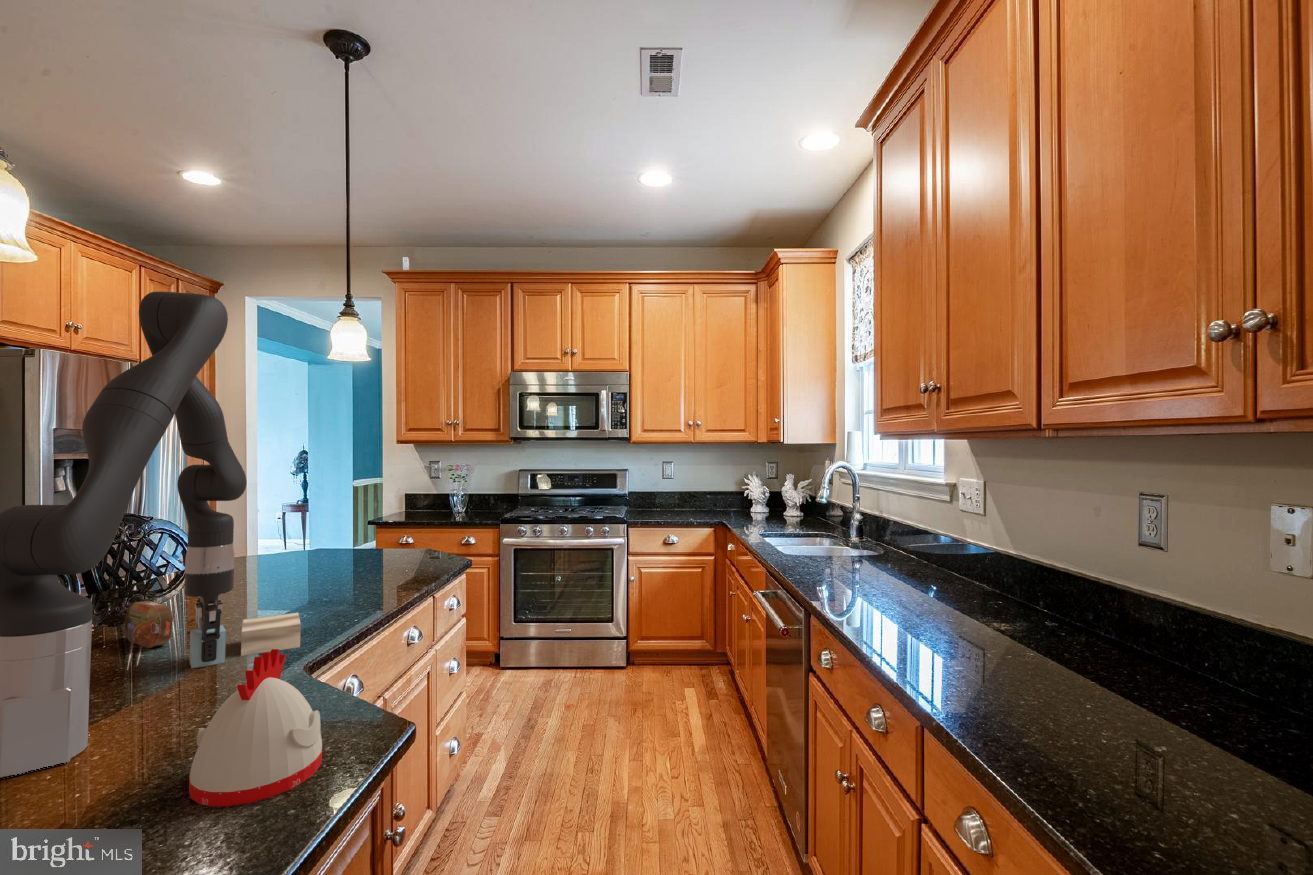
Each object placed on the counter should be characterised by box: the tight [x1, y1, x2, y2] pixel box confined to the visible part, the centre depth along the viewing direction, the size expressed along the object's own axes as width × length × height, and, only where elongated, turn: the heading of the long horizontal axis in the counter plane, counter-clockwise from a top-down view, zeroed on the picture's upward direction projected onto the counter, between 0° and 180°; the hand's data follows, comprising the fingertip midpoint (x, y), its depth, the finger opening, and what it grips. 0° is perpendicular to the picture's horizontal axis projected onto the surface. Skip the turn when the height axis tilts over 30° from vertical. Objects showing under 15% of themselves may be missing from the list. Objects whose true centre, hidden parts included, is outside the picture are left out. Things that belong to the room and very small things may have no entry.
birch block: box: [240, 612, 302, 657], centre depth 122 cm, size 10×10×5 cm
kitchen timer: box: [188, 649, 323, 807], centre depth 74 cm, size 14×14×15 cm
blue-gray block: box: [188, 624, 227, 669], centre depth 112 cm, size 5×5×6 cm
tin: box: [124, 600, 174, 649], centre depth 122 cm, size 15×3×8 cm, turn 62°
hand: (207, 656), depth 112 cm, fingers closed on blue-gray block, 5 cm apart
